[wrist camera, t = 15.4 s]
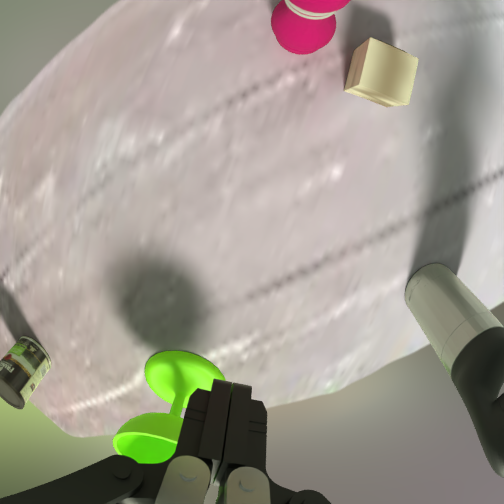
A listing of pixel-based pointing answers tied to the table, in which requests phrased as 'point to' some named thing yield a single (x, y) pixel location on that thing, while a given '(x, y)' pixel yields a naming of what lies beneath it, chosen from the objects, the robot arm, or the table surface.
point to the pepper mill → (305, 24)
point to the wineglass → (173, 391)
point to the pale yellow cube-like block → (381, 73)
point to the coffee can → (22, 371)
